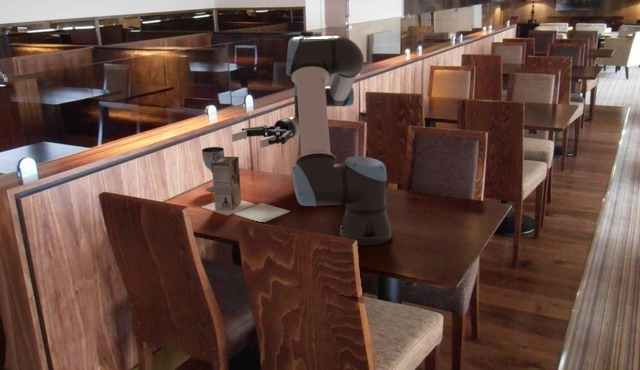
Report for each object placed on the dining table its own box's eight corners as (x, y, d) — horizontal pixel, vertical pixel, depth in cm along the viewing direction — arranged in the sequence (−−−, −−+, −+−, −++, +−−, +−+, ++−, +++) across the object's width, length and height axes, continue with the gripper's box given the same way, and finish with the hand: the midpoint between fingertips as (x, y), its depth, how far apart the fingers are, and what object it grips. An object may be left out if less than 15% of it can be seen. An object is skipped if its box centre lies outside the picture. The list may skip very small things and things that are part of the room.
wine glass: (203, 186, 223) (200, 147, 218) (224, 184, 225) (222, 146, 221) (206, 193, 216) (203, 153, 211) (228, 190, 218) (225, 151, 213)
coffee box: (224, 200, 207) (221, 155, 202) (241, 201, 206) (239, 156, 201) (214, 209, 199) (211, 163, 194) (232, 210, 197) (229, 163, 192)
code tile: (255, 204, 203) (255, 204, 203) (227, 215, 194) (226, 214, 193) (229, 197, 211) (229, 196, 211) (201, 207, 201) (201, 206, 201)
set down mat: (289, 211, 196) (289, 210, 196) (262, 223, 186) (261, 222, 186) (261, 203, 204) (261, 202, 204) (233, 214, 194) (233, 213, 194)
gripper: (314, 143, 212) (273, 157, 197) (263, 133, 227) (222, 145, 211) (314, 123, 210) (273, 135, 194) (262, 114, 225) (220, 124, 209)
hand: (246, 140), depth 203 cm, fingers open, 13 cm apart
